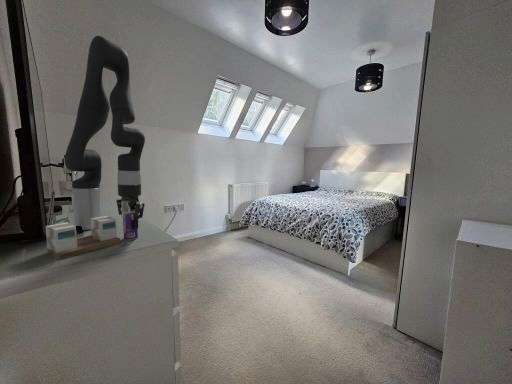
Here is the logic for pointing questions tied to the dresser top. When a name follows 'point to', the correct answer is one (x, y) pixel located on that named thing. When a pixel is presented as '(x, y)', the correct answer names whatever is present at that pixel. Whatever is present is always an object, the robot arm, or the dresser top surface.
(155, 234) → the dresser top surface
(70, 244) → the board
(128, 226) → the container
